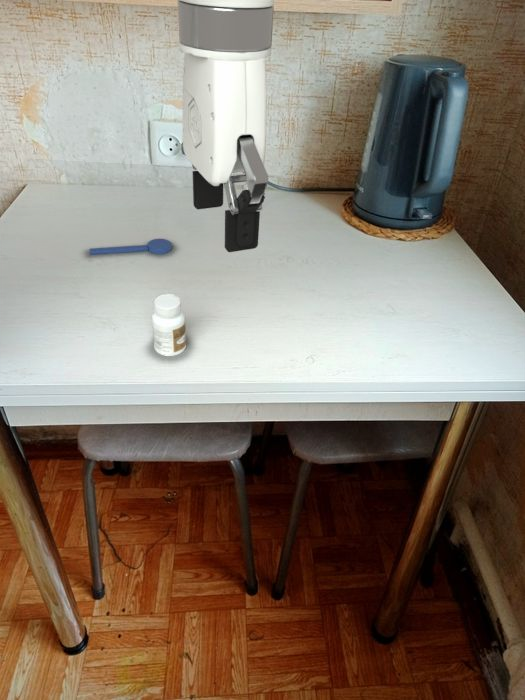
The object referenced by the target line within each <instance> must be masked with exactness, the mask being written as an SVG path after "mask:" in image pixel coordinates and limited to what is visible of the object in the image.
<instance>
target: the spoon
mask: <svg viewBox="0 0 525 700" xmlns="http://www.w3.org/2000/svg"><path fill="white" fill-rule="evenodd" d="M171 250H172V243H171V241H170V240H168V239H166V238H154V239H151V240H149V241H148V242H147V244H139V245H126V246H125V245H124V246H112V247H111V246H109V247H95V248H89V255H90V256H91V255H106V254H121V253H122V254H123V253H136V252H149V253H151V254H155V255H163V254H168V253H169V252H171Z"/></svg>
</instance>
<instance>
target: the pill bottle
mask: <svg viewBox="0 0 525 700" xmlns="http://www.w3.org/2000/svg"><path fill="white" fill-rule="evenodd" d="M153 311H154V312H153V313H152V315H151V326H152V337H153V348H154V350H155V352H156V353H158V354H159V355H162V356H166V357H174V356H178V355H181V354H182V353H183V352H184V351H185V349H186V348H187V335H186V332H187V331H186V315H185V313H184V312H183V311H182V303H181V299H180V297H178V296H177V295H176V294H172V293H163V294H160V295H158V296H157V297H155V298H154V300H153Z"/></svg>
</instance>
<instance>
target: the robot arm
mask: <svg viewBox="0 0 525 700" xmlns="http://www.w3.org/2000/svg"><path fill="white" fill-rule="evenodd" d="M274 5H275V0H177V20H178V45H179V46H178V48H179V50H180V51H181V52H182V53H184V57H183V69H182V70H183V73H182V151H183V153H184V156H185V157H186V158H187V159H188V161H189V162H190V163H191V166H192V169H193V170H192V196H193V197H192V199H193V202H192V203H193V207H194V208H195V209H196V210H206V209H214V208H222V207H223V205H224V192H225V195H226V200H227V205H228V209H225V210H224V249H225V250H226V252H227V253H234V252H235V253H236V252H240V251H247V250H253V249H256V248H258V245H259V233H260V218H261V217H260V216H261V215H260V214H261V212H262V210H263V203H264V201H265V199H266V196H265V195H266V189H267V187H268V183H269V175H268V173H267V170H266V167H265V160H266V146H267V145H266V144H267V143H266V142H267V70H266V68H267V67H266V58H268V57H270V56H271V55H272V45H273V28H274V27H273V26H274V13H275V12H274V10H275V7H274ZM234 173H243V174H236V175H232V174H234ZM241 186H245V187H246V189H242V191H241V192H240V193H239V195H238V196H237V191H236V187H241Z"/></svg>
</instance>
